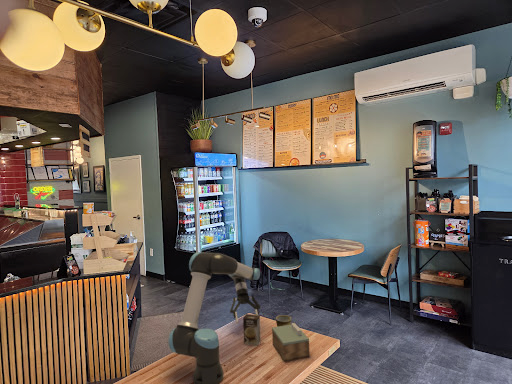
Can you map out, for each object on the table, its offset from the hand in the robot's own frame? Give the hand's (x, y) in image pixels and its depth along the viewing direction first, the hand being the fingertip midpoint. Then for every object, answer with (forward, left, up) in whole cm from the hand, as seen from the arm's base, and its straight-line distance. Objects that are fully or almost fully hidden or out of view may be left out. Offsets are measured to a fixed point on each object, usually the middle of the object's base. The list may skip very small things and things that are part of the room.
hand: (247, 321), depth 210 cm
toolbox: (+19, -27, -9) cm, 34 cm away
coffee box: (0, -11, -9) cm, 14 cm away
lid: (+19, -27, 0) cm, 33 cm away
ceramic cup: (+22, -5, -9) cm, 24 cm away
